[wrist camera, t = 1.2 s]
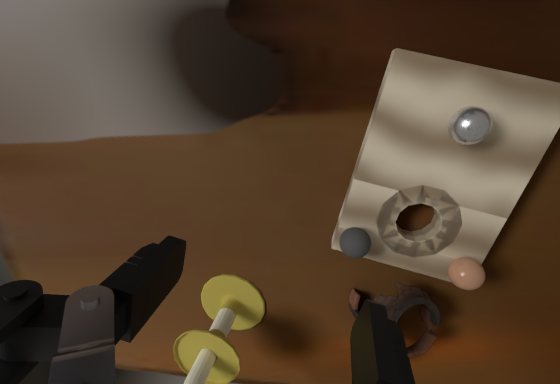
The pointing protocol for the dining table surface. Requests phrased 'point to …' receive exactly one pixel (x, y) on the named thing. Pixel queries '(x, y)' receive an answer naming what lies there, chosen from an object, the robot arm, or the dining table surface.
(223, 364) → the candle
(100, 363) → the robot arm
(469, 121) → the steel ball
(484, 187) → the board
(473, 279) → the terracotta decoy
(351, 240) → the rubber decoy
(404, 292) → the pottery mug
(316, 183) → the dining table surface
